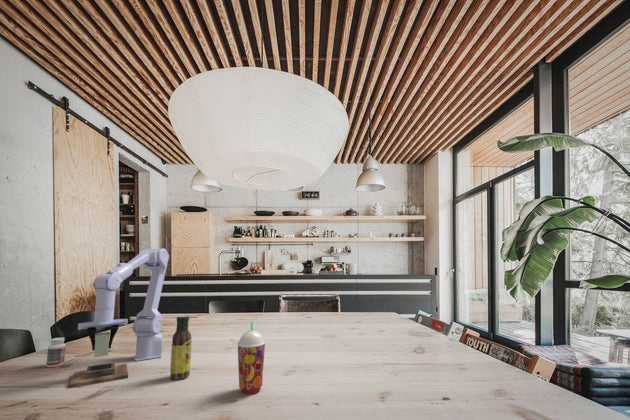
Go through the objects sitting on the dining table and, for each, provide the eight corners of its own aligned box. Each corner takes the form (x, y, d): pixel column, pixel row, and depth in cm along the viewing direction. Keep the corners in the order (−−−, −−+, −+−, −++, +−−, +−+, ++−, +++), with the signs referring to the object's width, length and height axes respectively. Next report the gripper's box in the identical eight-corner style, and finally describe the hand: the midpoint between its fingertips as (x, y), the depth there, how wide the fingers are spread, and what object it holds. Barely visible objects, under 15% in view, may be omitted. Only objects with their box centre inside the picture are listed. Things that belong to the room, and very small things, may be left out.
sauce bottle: (188, 379, 108) (191, 317, 111) (168, 381, 106) (171, 318, 109) (191, 373, 114) (193, 314, 117) (171, 374, 113) (174, 315, 115)
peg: (108, 352, 116) (109, 331, 117) (107, 355, 112) (109, 334, 113) (94, 354, 114) (96, 333, 115) (93, 357, 110) (95, 335, 111)
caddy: (126, 366, 122) (127, 358, 122) (128, 377, 110) (128, 368, 110) (73, 375, 114) (74, 365, 114) (69, 388, 102) (69, 378, 102)
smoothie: (238, 385, 102) (240, 319, 105) (265, 384, 103) (266, 318, 106) (234, 396, 94) (236, 324, 97) (263, 395, 95) (264, 323, 97)
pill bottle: (63, 366, 123) (66, 338, 125) (45, 368, 120) (48, 341, 122) (64, 362, 128) (67, 336, 129) (47, 365, 125) (49, 338, 126)
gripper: (78, 311, 108) (74, 355, 106) (128, 308, 116) (126, 348, 114) (80, 309, 114) (76, 350, 112) (128, 305, 122) (125, 343, 120)
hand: (101, 348), depth 113 cm, fingers closed on peg, 4 cm apart
